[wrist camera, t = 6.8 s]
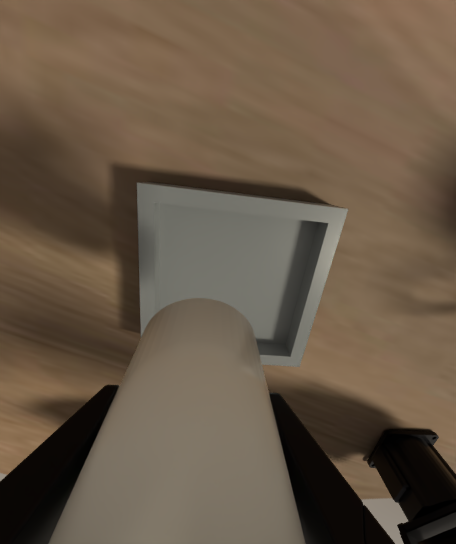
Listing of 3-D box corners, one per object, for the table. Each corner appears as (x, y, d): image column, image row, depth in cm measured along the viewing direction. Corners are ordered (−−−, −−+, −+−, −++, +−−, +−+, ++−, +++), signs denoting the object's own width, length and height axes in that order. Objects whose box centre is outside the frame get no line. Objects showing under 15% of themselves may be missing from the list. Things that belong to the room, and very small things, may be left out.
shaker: (265, 303, 10) (580, 1125, 1) (246, 390, 11) (324, 947, 3) (141, 292, 9) (-593, 1479, 1) (143, 384, 11) (-76, 1023, 3)
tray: (330, 204, 17) (348, 209, 15) (290, 346, 22) (299, 366, 19) (148, 181, 16) (136, 182, 13) (149, 336, 21) (141, 356, 18)
